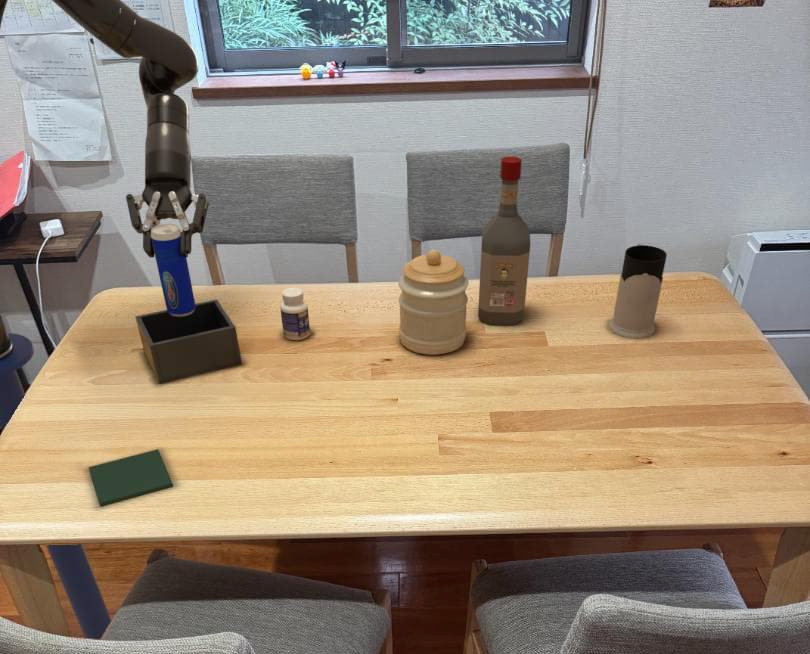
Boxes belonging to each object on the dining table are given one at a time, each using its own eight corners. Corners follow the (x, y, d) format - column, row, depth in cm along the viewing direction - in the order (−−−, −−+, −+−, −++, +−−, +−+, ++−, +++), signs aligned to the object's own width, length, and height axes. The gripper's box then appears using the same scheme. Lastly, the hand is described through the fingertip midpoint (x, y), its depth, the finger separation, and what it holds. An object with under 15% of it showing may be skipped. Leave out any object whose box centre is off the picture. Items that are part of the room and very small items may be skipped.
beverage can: (161, 311, 147) (143, 229, 137) (185, 302, 150) (168, 220, 140) (178, 320, 144) (161, 237, 134) (202, 310, 147) (186, 228, 137)
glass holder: (610, 336, 157) (623, 261, 147) (606, 304, 168) (618, 232, 158) (656, 339, 156) (672, 263, 146) (649, 306, 167) (664, 233, 157)
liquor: (523, 326, 161) (537, 168, 141) (477, 325, 162) (485, 167, 142) (522, 305, 168) (536, 152, 148) (478, 304, 169) (486, 151, 148)
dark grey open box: (158, 383, 147) (149, 345, 142) (144, 352, 155) (135, 316, 150) (241, 364, 152) (235, 326, 146) (223, 335, 160) (216, 299, 155)
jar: (475, 330, 160) (479, 242, 148) (452, 361, 151) (455, 270, 139) (414, 319, 164) (413, 232, 152) (389, 349, 155) (386, 259, 143)
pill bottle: (305, 342, 157) (300, 299, 152) (279, 339, 158) (274, 296, 153) (313, 329, 161) (309, 287, 155) (289, 327, 162) (284, 284, 156)
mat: (100, 506, 121) (99, 503, 120) (89, 470, 128) (88, 467, 127) (173, 486, 124) (172, 483, 124) (158, 451, 131) (158, 448, 131)
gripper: (118, 147, 135) (117, 247, 135) (204, 147, 135) (203, 246, 135) (133, 170, 143) (132, 264, 142) (214, 169, 143) (214, 264, 142)
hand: (167, 255), depth 138 cm, fingers closed on beverage can, 5 cm apart
